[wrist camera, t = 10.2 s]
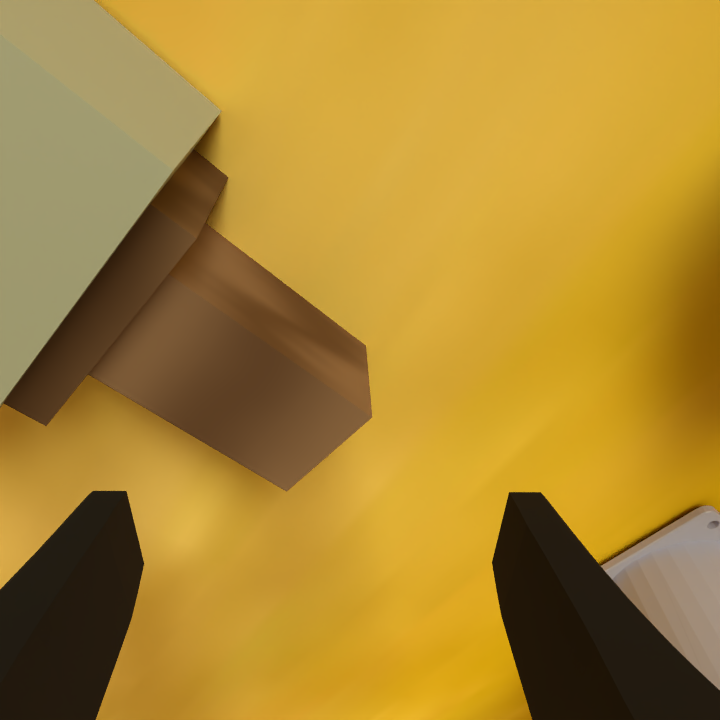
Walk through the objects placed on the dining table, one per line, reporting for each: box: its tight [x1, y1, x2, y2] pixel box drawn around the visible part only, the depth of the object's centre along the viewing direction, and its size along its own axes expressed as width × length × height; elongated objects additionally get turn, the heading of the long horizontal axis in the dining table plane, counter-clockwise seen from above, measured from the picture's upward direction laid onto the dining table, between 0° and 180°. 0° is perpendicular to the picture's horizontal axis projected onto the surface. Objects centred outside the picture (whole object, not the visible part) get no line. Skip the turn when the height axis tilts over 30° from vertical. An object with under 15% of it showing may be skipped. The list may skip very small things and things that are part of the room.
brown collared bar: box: [4, 150, 372, 491], centre depth 17 cm, size 13×7×5 cm, turn 48°
